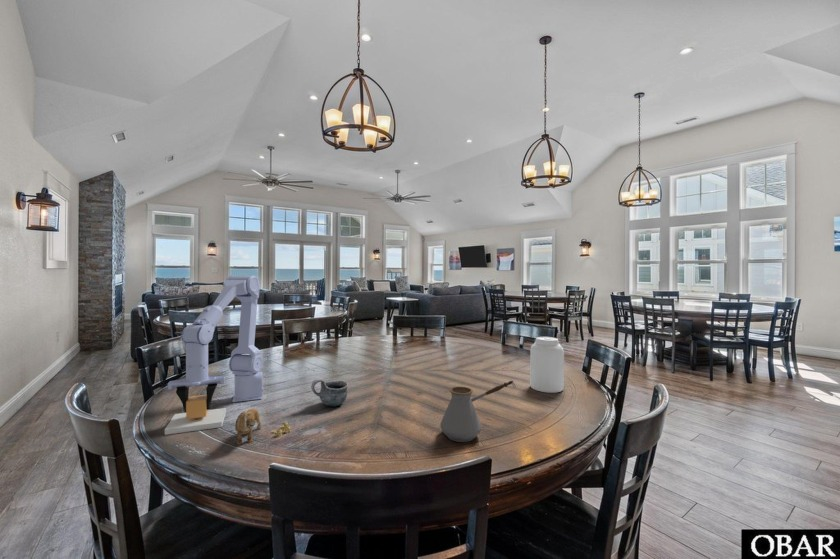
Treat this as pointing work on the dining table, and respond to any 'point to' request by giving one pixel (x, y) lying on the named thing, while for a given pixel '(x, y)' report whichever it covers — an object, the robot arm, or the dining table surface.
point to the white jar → (547, 365)
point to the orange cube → (196, 406)
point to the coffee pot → (464, 414)
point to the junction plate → (196, 422)
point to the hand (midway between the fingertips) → (197, 410)
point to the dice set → (282, 429)
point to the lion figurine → (247, 424)
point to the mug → (331, 391)
